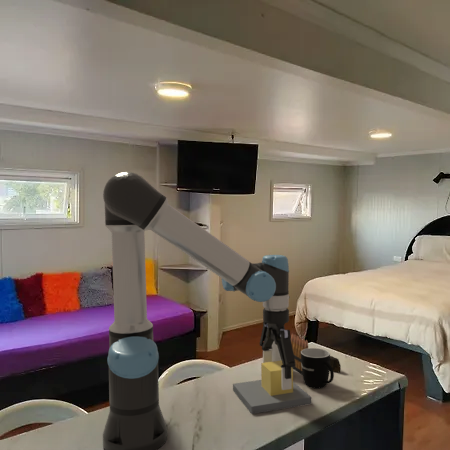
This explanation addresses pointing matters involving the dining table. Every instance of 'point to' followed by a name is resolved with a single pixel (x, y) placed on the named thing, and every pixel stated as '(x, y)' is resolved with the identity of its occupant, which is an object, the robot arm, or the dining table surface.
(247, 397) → the board
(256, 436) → the dining table surface
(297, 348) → the ammunition clip
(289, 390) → the mustard yellow cube
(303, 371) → the mug
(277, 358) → the air blower bulb
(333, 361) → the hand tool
